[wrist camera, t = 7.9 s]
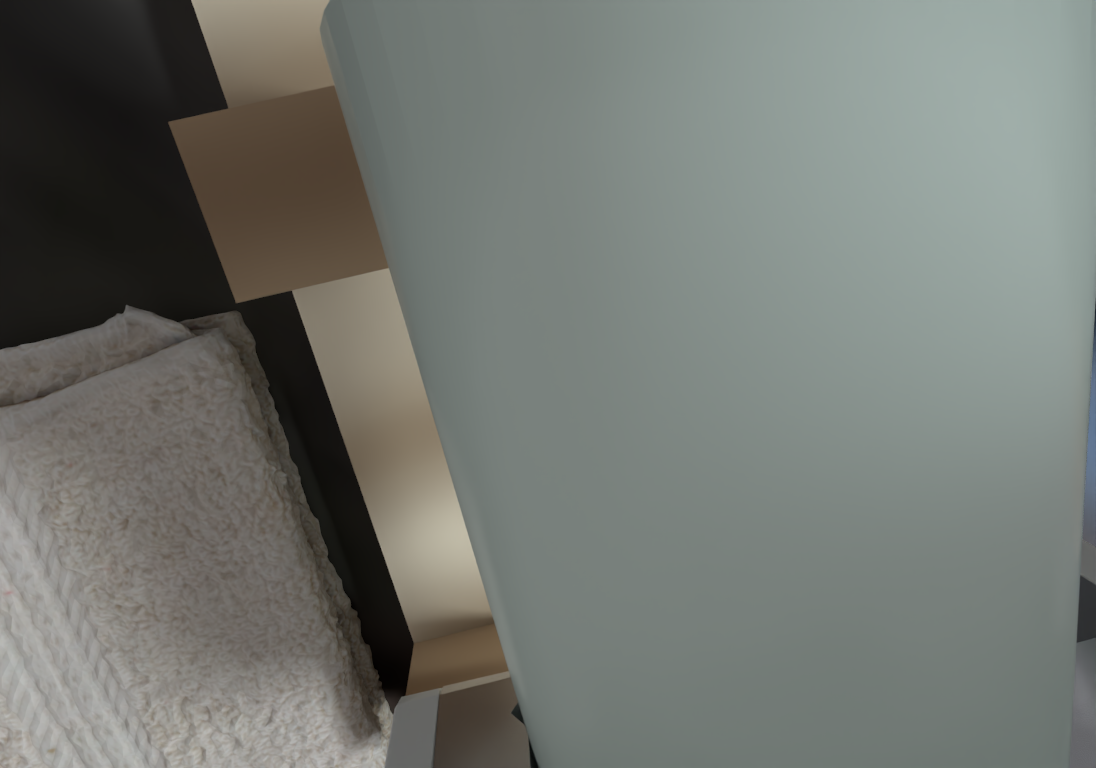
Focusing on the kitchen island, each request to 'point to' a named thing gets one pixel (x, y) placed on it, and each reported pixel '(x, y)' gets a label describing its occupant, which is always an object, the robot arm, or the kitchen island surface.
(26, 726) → the washcloth
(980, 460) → the ceramic bottle
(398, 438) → the board
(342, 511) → the kitchen island surface
